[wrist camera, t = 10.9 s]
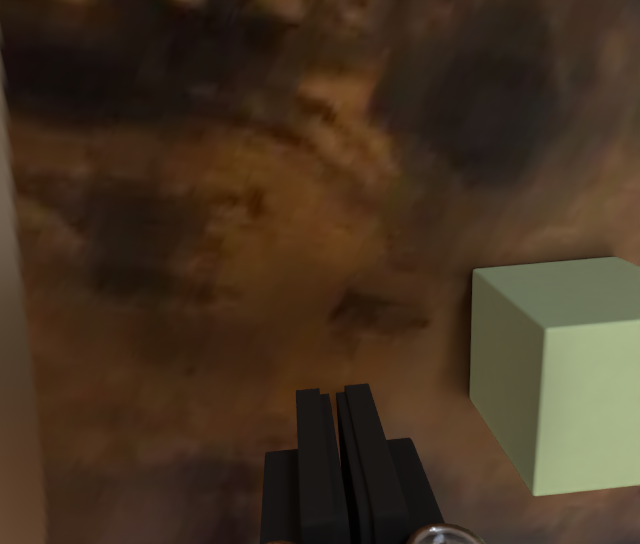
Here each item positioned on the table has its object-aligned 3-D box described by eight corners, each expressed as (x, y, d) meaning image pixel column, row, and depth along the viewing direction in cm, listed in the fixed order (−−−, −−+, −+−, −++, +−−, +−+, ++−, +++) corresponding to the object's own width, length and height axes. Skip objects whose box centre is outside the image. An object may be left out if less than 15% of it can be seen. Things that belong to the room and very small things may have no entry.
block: (468, 398, 17) (533, 498, 12) (471, 268, 15) (545, 328, 11) (601, 385, 17) (710, 479, 12) (616, 255, 15) (745, 310, 11)
